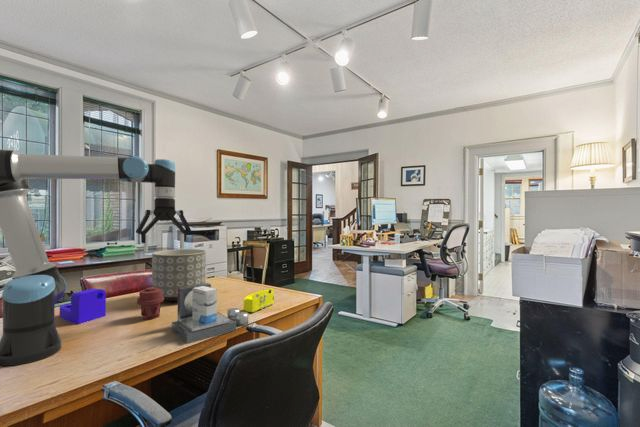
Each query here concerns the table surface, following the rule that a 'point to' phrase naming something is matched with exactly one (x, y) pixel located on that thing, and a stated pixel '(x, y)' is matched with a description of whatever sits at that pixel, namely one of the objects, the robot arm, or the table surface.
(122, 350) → the table surface
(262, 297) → the yellow toy chassis
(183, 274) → the planter
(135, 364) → the table surface
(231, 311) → the cylinder
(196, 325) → the scale pan
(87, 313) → the bracket
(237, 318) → the cylinder
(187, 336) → the base
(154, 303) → the mechanical component
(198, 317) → the ink box
